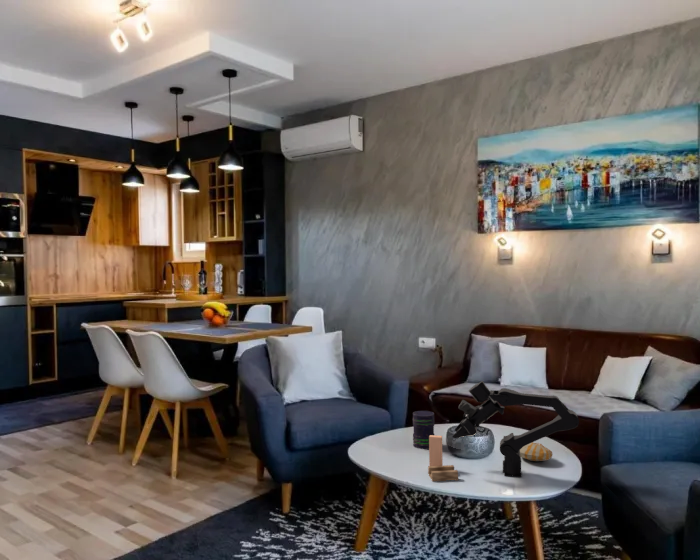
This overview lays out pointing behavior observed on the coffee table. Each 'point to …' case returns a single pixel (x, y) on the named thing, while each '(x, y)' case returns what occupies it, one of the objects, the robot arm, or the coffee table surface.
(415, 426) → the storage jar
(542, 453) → the nautilus
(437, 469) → the rack
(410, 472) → the coffee table surface
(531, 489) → the coffee table surface
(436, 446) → the peach rectangular block
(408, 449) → the coffee table surface
